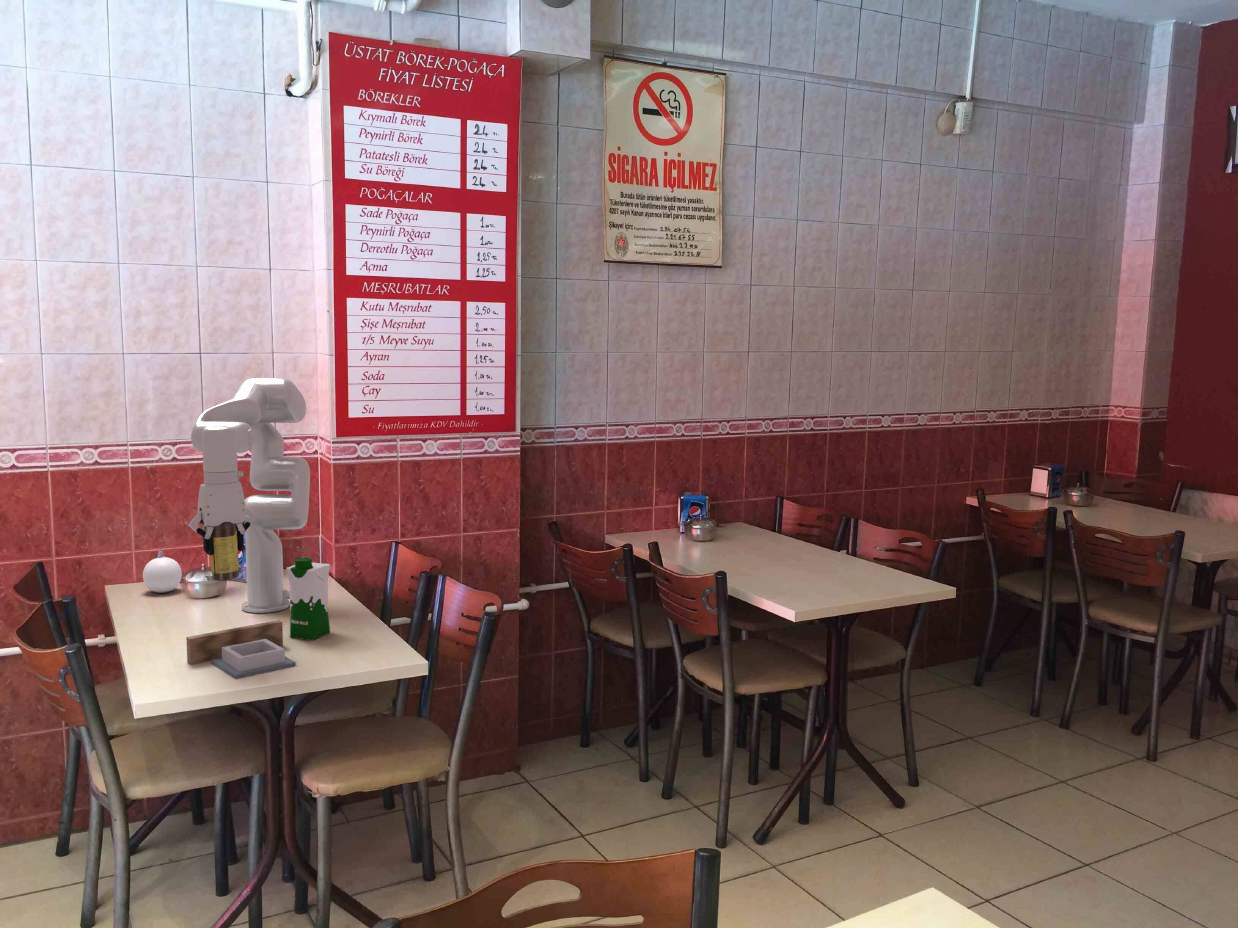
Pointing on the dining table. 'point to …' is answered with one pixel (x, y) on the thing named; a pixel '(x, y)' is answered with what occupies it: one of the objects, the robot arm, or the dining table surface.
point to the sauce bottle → (224, 552)
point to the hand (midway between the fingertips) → (224, 551)
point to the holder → (252, 658)
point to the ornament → (162, 574)
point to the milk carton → (308, 599)
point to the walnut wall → (231, 640)
